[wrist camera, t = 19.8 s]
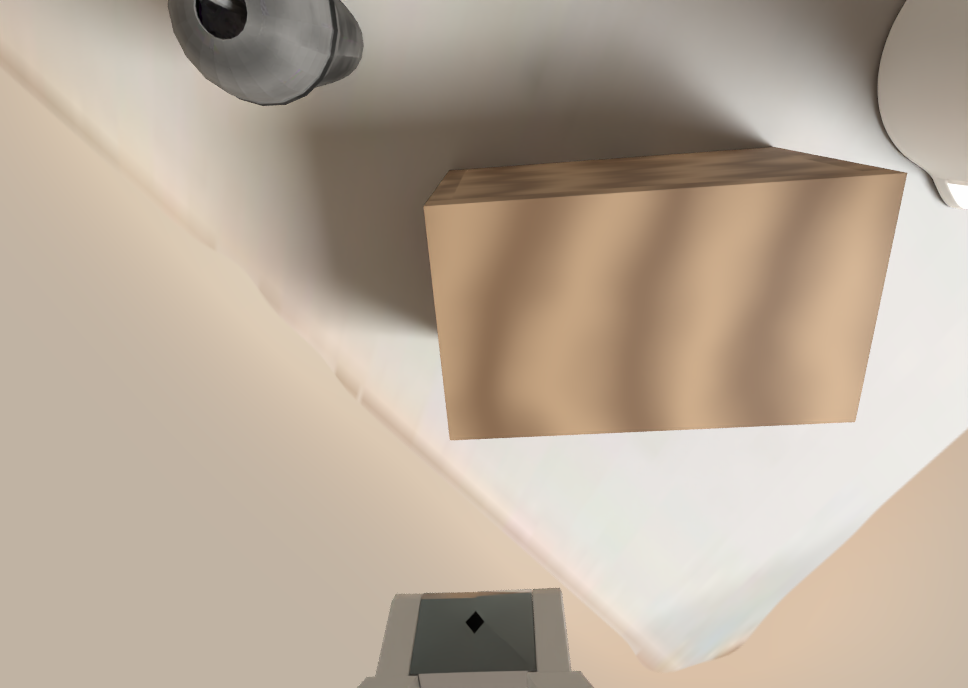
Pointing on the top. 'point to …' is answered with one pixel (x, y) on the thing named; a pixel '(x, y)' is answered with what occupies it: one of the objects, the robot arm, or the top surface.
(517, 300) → the open wooden box
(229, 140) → the top surface
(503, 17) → the top surface
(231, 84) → the beverage cup
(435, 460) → the top surface
